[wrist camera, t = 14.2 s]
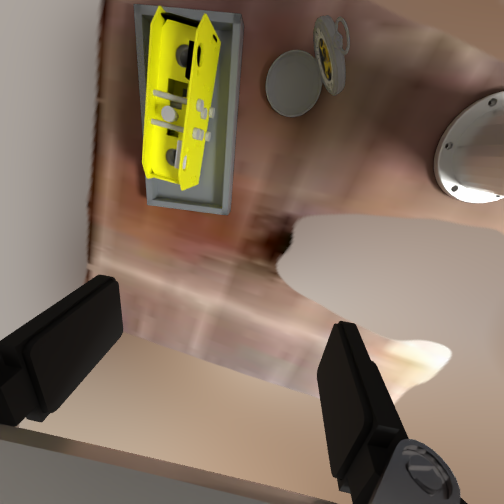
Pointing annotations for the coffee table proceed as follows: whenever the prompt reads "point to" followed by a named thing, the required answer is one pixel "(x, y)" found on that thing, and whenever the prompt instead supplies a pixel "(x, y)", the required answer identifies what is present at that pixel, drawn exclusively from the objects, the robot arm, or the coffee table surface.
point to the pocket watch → (308, 71)
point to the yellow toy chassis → (178, 97)
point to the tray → (221, 125)
